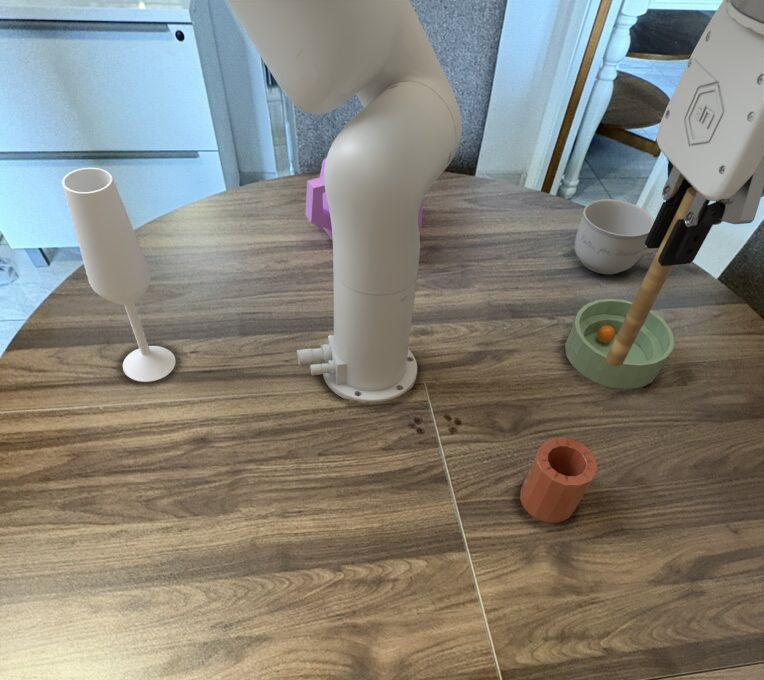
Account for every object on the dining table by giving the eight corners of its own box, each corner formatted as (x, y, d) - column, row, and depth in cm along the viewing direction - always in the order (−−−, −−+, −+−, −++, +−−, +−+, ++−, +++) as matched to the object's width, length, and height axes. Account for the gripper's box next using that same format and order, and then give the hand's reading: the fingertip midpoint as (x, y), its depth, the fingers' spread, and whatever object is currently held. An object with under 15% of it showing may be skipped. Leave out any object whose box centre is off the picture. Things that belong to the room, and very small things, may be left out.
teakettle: (302, 249, 96) (297, 168, 86) (334, 193, 105) (334, 114, 95) (407, 272, 94) (415, 193, 84) (431, 213, 104) (441, 136, 93)
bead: (599, 347, 86) (605, 334, 84) (591, 336, 88) (597, 322, 86) (614, 345, 87) (620, 332, 85) (606, 334, 88) (612, 320, 86)
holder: (531, 531, 69) (551, 490, 63) (510, 485, 73) (527, 442, 66) (582, 521, 71) (607, 479, 64) (559, 476, 74) (581, 433, 67)
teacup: (561, 271, 97) (577, 223, 90) (575, 235, 103) (592, 188, 96) (648, 296, 95) (672, 250, 88) (658, 258, 100) (681, 212, 94)
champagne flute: (168, 340, 83) (114, 157, 63) (181, 373, 80) (130, 191, 60) (117, 353, 81) (45, 168, 61) (129, 387, 78) (57, 204, 58)
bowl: (588, 399, 82) (602, 371, 77) (549, 333, 88) (559, 304, 84) (675, 385, 84) (692, 357, 80) (630, 322, 91) (644, 293, 87)
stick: (610, 367, 64) (694, 199, 49) (603, 355, 65) (683, 186, 50) (625, 365, 64) (714, 197, 49) (618, 353, 65) (702, 185, 50)
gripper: (685, -50, 42) (592, 207, 58) (822, 47, 34) (671, 317, 49) (778, -49, 44) (663, 202, 59) (932, 44, 35) (752, 308, 51)
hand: (668, 252), depth 54 cm, fingers closed on stick, 1 cm apart
